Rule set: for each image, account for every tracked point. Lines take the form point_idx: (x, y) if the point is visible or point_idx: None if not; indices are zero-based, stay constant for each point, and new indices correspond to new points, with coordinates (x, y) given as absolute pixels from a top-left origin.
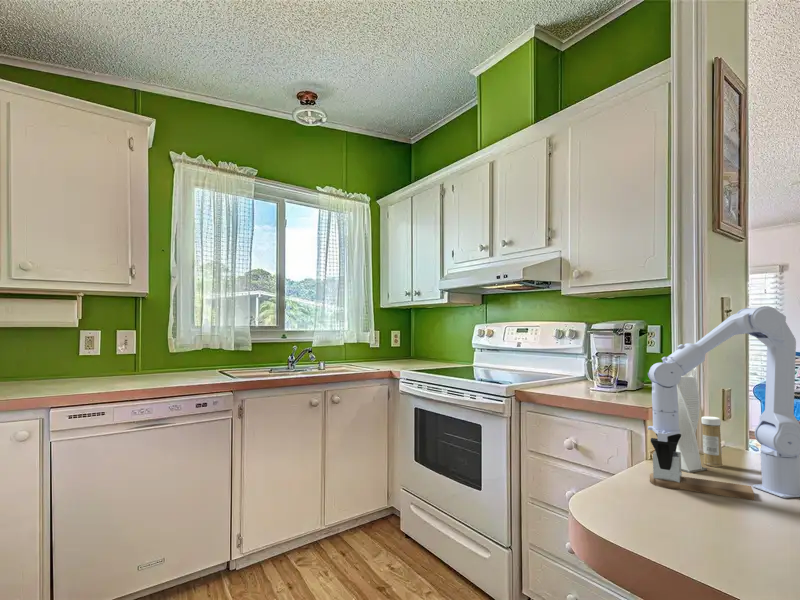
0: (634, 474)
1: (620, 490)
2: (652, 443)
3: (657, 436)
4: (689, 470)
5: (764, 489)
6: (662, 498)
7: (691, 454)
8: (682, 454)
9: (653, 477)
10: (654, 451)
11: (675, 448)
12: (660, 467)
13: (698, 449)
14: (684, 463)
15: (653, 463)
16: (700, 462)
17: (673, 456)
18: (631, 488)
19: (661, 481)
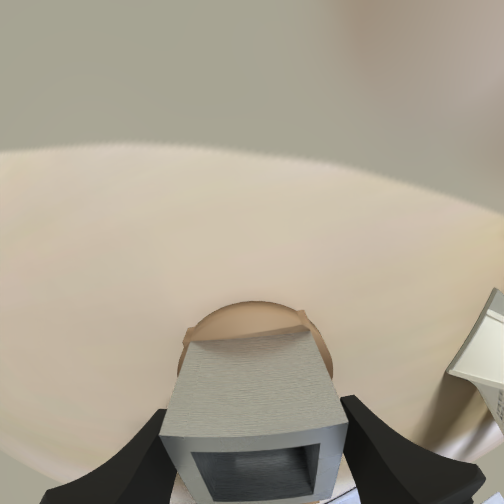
0: (313, 211)
1: (34, 235)
2: (49, 493)
3: (411, 497)
4: (450, 374)
5: (337, 500)
6: (69, 365)
7: (493, 400)
8: (490, 385)
9: (206, 338)
10: (250, 437)
11: (359, 492)
12: (155, 413)
13: (499, 425)
14: (472, 370)
15: (174, 391)
16: (483, 396)
17: (195, 497)
18: (76, 262)
19: (178, 370)
